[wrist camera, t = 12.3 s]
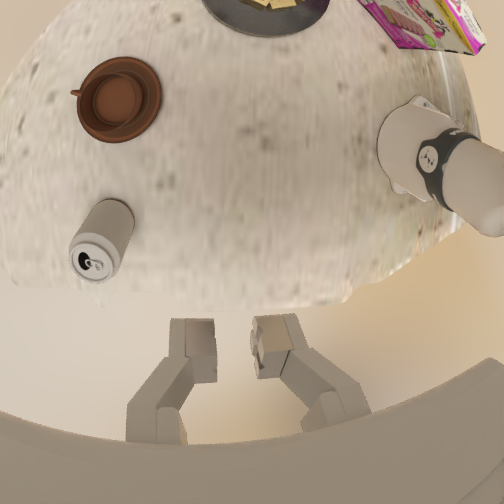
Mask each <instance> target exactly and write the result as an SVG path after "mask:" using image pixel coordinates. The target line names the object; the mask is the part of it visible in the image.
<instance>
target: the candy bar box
mask: <svg viewBox="0 0 504 504" xmlns="http://www.w3.org/2000/svg"><path fill="white" fill-rule="evenodd" d="M358 1H359V2H360V3H361V4H362V5H363V6H364V7H365V8H366V9H367V10H368V11H369V12H370V13H371V15H372V16H373V17H374V18H375V19H376V20H377V21H378V23H379V24H380V25H381V26H382V27H383V29H384V30H385V31H386V32H387V34H388V35H389V36H390V37H391V39H392V40H393V41H394V43H395V44H396V45H397V47H398V48H399V49H423V50H437V51H445V52H453V53H461V54H467V55H473V56H476V55H477V54H478V52H479V51H480V50H481V48H482V47H483V46H484V45H485V44H486V42H487V40H486V38H485V36H484V34H483V32H482V30H481V28H480V26H479V24H478V23H477V21H476V19H475V17H474V15H473V13H472V12H471V10H470V8H469V7H468V5H467V3H466V2H465V0H358Z"/></svg>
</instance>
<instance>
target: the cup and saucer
mask: <svg viewBox="0 0 504 504" xmlns="http://www.w3.org/2000/svg"><path fill="white" fill-rule="evenodd" d="M71 94H72V95H75V96H78V97H77V113H78V117H79V120H80V122H81V124H82V126H83V128H84V129H85V130H86V132H87V133H88V134H90V135H91V136H92V137H94V138H95V139H97V140H99V141H102V142H106V143H122V142H126V141H129V140H131V139H133V138H135V137H137V136H139V135H140V134H141V133H143V132H144V131H145V130H146V129H147V128H148V127H149V126H150V124H151V123H152V122H153V120H154V119H155V117H156V115H157V113H158V110H159V107H160V103H161V86H160V82H159V79H158V77H157V75H156V73H155V72H154V70H153V69H152V68H151V67H150V66H149V65H148V64H146V63H145V62H143V61H141V60H139V59H136V58H133V57H116V58H112V59H109V60H107V61H105V62H103V63H101V64H99V65H98V66H97V67H95V68H94V69H93V70H92V71H91V72H90V73H89V74H88V76H87V77H86V78H85V80H84V81H83V83H82V85H81V87H80V90H72V91H71Z"/></svg>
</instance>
